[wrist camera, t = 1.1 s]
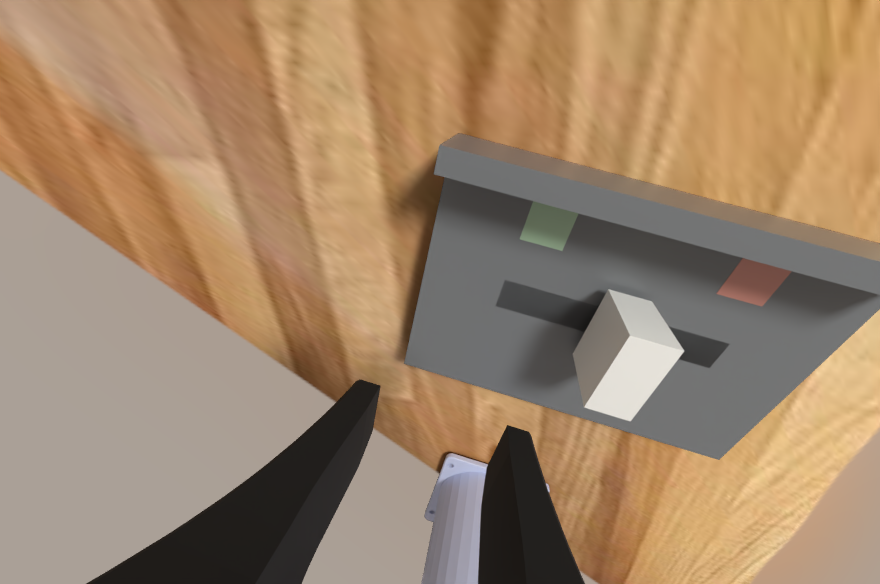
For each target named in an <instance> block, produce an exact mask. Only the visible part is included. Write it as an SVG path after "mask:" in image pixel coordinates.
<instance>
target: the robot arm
mask: <svg viewBox="0 0 880 584" xmlns="http://www.w3.org/2000/svg"><path fill="white" fill-rule="evenodd" d="M379 391H380V385H376V384H373V383H370V382H367V381H363V380H358V381H356V382H355V383H354V384H353V385H352V386H351V388H350V389H349V390H348V391H347V392H346V393H345V394H344V395H343V396H342V397H341V398H340V399H339V400H338V401H337V402H336V403H335V404H334V406H332V407H331V408H330V409H329V410H328V411H327V412H326V413H325V414H324V415H323V416H322V417H321V418H320V419H319V420H318V421H317V422H316V423H314V424H313V425H312V426H311V427H310V428H309V429H308V430H307V431H306V432H305V433H304V434H302V435H301V436H300V437H299V438H298V439H297V440H296V441H294V442H293V443H292V444H291V445H290V446H288V447H287V448H286V449H285V450H284V451H282V452H281V453H280V454H279V455H278V456H276V457H275V458H274V459H273V460H272V461H270V462H269V463H268V464H267V465H266V466H264V467H263V468H262V469H261V470H259V471H258V472H256V473H255V474H254V475H253V476H251V477H250V478H249V479H247V480H246V481H245V482H243V483H242V484H241V485H239V486H238V487H236V488H235V489H234V490H232V491H231V492H230V493H228V494H227V495H226V496H224V497H223V498H221V499H220V500H218V501H217V502H215V503H214V504H213V505H211V506H210V507H208V508H207V509H205V510H204V511H202V512H201V513H199V514H198V515H196V516H195V517H194V518H192V519H191V520H189V521H188V522H186V523H185V524H183V525H181V526H180V527H178V528H177V529H175V530H174V531H173V532H171V533H169V534H168V535H166V536H165V537H163V538H161V539H160V540H158V541H156V542H155V543H153V544H151V545H150V546H148V547H147V548H145V549H143V550H142V551H140V552H138V553H137V554H135V555H134V556H132V557H130V558H128V559H127V560H125V561H124V562H122V563H120V564H119V565H117V566H115V567H114V568H112V569H111V570H109V571H107V572H105V573H104V574H102V575H100V576H99V577H97V578H95V579H93V580H92V581H90V582H88V583H87V584H302V581H303V579H304V576H305V574H306V571H307V569H308V567H309V565H310V562H311V561H312V558H313V556H314V554H315V552H316V550H317V548H318V546H319V544H320V542H321V540H322V538H323V536H324V534H325V532H326V530H327V528H328V526H329V524H330V522H331V520H332V518H333V516H334V514H335V512H336V510H337V508H338V506H339V504H340V502H341V500H342V498H343V496H344V494H345V492H346V490H347V488H348V487H349V484H350V483H351V481H352V479H353V477H354V475H355V473H356V471H357V469H358V467H359V464H360V461H361V459H362V456H363V454H364V451H365V449H366V446H367V444H368V441H369V439H370V436H371V434H372V431H373V425H374V419H375V414H376V408H377V402H378V397H379ZM425 518H426V519H427V520H429V521H432V522H434V523H433V528H432V533H431V538H430V543H429V548H428V553H427V558H426V563H425V568H424V573H423V578H422V583H421V584H585V583H584V581H583V578H582V576H581V574H580V571H579V569H578V567H577V564H576V562H575V559H574V557H573V555H572V552H571V550H570V548H569V545H568V543H567V540H566V538H565V535H564V532H563V530H562V527H561V525H560V522H559V519H558V516H557V514H556V511H555V508H554V506H553V503H552V500H551V497H550V495H549V485H548V484H547V483H545V480H544V477H543V474H542V471H541V468H540V464H539V461H538V458H537V455H536V451H535V448H534V444H533V441H532V437H531V435H530V433H529V432H528V431H524V430H521V429H518V428H515V427H511V426H508V425H507V427H506V429H505V431H504V433H503V435H502V437H501V439H500V441H499V443H498V446H497V448H496V450H495V452H494V454H493V456H492V458H491V460H490V462H489V464H485V463H482V462H479V461H476V460H472V459H469V458H466V457H463V456H460V455H457V454H453V453H449V454H447V455H446V458H445V461H444V463H443V466H442V469H441V471H440V474H439V477H438V479H437V482H436V485H435V487H434V490H433V493H432V496H431V498H430V501H429V503H428V506H427V509H426V512H425Z"/></svg>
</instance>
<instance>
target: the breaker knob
mask: <svg viewBox="0 0 880 584" xmlns="http://www.w3.org/2000/svg"><path fill="white" fill-rule="evenodd" d="M683 352H684V350H683V348H682V347H681V345H680V344H679V342H678V341H677V339H676V337H675V336H674V334H673V333H672V331H671V330H670V328H669V327H668V325H667V324H666V322H665V321H664V319H663V318H662V316H661V314H660V313H659V311H658V310H657V308H656V307H655V305H654V304H653V302H652V301H649V300H645V299H642V298H638V297H635V296H631V295H628V294H624V293H620V292H617V291H613V290H610V289H608V291H607V292H606V294H605V296H604V298H603V300H602V302H601V303H600V305H599V307H598V309H597V311H596V312H595V314H594V316H593V318H592V320H591V322H590V323H589V325H588V327H587V329H586V331H585V332H584V334H583V336H582V338H581V340H580V342H579V343H578V345H577V347H576V349H575V351H574V353H573V358H574V363H575V367H576V372H577V377H578V381H579V386H580V391H581V396H582V400H583V405H584V408H588V409H591V410H594V411H598V412H601V413H604V414H607V415H611V416H614V417H617V418H621V419H624V420H627V421H631V420H632V419H633V417H634V416H635V415H636V414H637V412H638V411H639V410H640V408H641V407H642V406H643V404H644V403H645V402H646V401H647V399H648V398H649V397H650V395H651V394H652V393H653V391H654V390H655V389H656V388H657V386H658V385H659V384H660V382H661V381H662V380H663V378H664V377H665V376H666V375H667V373H668V372H669V371H670V369H671V368H672V367H673V365H674V364H675V363H676V361H677V360H678V359H679V358H680V356H681V355H682V354H683Z"/></svg>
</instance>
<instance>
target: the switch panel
mask: <svg viewBox="0 0 880 584" xmlns="http://www.w3.org/2000/svg"><path fill="white" fill-rule="evenodd" d="M434 174H435V175H438V176H442V177H445V178H444V183H443V187H442V192H441V196H440V201H439V206H438V210H437V215H436V219H435V224H434V229H433V233H432V238H431V242H430V247H429V252H428V256H427V261H426V265H425V270H424V275H423V279H422V284H421V288H420V293H419V298H418V302H417V307H416V311H415V316H414V321H413V325H412V330H411V334H410V339H409V344H408V348H407V353H406V357H405V362H404V364H407V365H410V366H414V367H417V368H420V369H423V370H427V371H430V372H433V373H436V374H440V375H443V376H446V377H449V378H453V379H456V380H459V381H463V382H466V383H469V384H472V385H476V386H479V387H482V388H485V389H489V390H492V391H495V392H499V393H502V394H505V395H508V396H512V397H515V398H518V399H521V400H525V401H528V402H531V403H535V404H538V405H541V406H544V407H548V408H551V409H554V410H557V411H561V412H564V413H567V414H571V415H574V416H577V417H580V418H584V419H587V420H590V421H593V422H597V423H600V424H603V425H607V426H610V427H613V428H616V429H620V430H623V431H626V432H629V433H633V434H636V435H639V436H643V437H646V438H649V439H652V440H656V441H659V442H662V443H665V444H669V445H672V446H675V447H679V448H682V449H685V450H688V451H692V452H695V453H698V454H701V455H705V456H708V457H711V458H715V459H718V460H719V459H720V458H721V457H723V456H724V455H725V454H726V453H727V452H728V451H729V450H730V449H731V448H732V447H733V446H734V445H735V444H736V443H737V442H739V441H740V440H741V439H742V438H743V437H744V436H745V435H746V434H747V433H748V432H749V431H750V430H751V429H752V428H753V427H754V426H756V425H757V424H758V423H759V422H760V421H761V420H762V419H763V418H764V417H765V416H766V415H767V414H768V413H769V412H770V411H772V410H773V409H774V408H775V407H776V406H777V405H778V404H779V403H780V402H781V401H782V400H783V399H784V398H785V397H786V396H788V395H789V394H790V393H791V392H792V391H793V390H794V389H795V388H796V387H797V386H798V385H799V384H800V383H801V382H802V381H804V380H805V379H806V378H807V377H808V376H809V375H810V374H811V373H812V372H813V371H814V370H815V369H816V368H817V367H818V366H820V365H821V364H822V363H823V362H824V361H825V360H826V359H827V358H828V357H829V356H830V355H831V354H832V353H833V352H834V351H836V350H837V349H838V348H839V347H840V346H841V345H842V344H843V343H844V342H845V341H846V340H847V339H848V338H849V337H850V336H851V335H853V334H854V333H855V332H856V331H857V330H858V329H859V328H860V327H861V326H862V325H863V324H864V323H865V322H866V321H867V320H869V319H870V318H871V317H872V316H873V315H874V314H875V313H876V312H877V311H878V310H879V309H880V243H876V242H872V241H869V240H865V239H861V238H857V237H853V236H849V235H846V234H842V233H838V232H834V231H830V230H827V229H823V228H819V227H815V226H811V225H808V224H804V223H800V222H796V221H792V220H788V219H785V218H781V217H777V216H773V215H769V214H766V213H762V212H758V211H754V210H750V209H747V208H743V207H739V206H735V205H731V204H727V203H724V202H720V201H716V200H712V199H708V198H705V197H701V196H697V195H693V194H689V193H686V192H682V191H678V190H674V189H670V188H667V187H663V186H659V185H655V184H651V183H647V182H644V181H640V180H636V179H632V178H628V177H625V176H621V175H617V174H613V173H609V172H606V171H602V170H598V169H594V168H590V167H586V166H583V165H579V164H575V163H571V162H567V161H564V160H560V159H556V158H552V157H548V156H545V155H541V154H537V153H533V152H529V151H526V150H522V149H518V148H514V147H510V146H506V145H503V144H499V143H495V142H491V141H487V140H484V139H480V138H476V137H472V136H468V135H465V134H461V133H458V134H456V135H455V136H453V137H452V138H450V139H448V140H447V141H445V142H443V143H442V144H440V146H439V151H438V156H437V161H436V166H435V171H434ZM608 289H610V290H613V291H617V292H620V293H624V294H628V295H631V296H635V297H638V298H642V299H645V300H649V301H652V302H653V304H654V305H655V307H656V308H657V310H658V311H659V313H660V314H661V316H662V318H663V319H664V321H665V322H666V324H667V325H668V327H669V328H670V330H671V331H672V333H673V334H674V336H675V337H676V339H677V341H678V342H679V344H680V345H681V347H682V348H683V350H684V352H683V354H682V355H681V356H680V358H679V359H678V360H677V361H676V363H675V364H674V365H673V367H672V368H671V369H670V371H669V372H668V373H667V375H666V376H665V377H664V378H663V380H662V381H661V382H660V384H659V385H658V386H657V388H656V389H655V390H654V391H653V393H652V394H651V395H650V397H649V398H648V399H647V401H646V402H645V403H644V404H643V406H642V407H641V408H640V410H639V411H638V412H637V414H636V415H635V416H634V417H633V419H632V420H631V421H627V420H624V419H621V418H617V417H614V416H611V415H607V414H604V413H601V412H598V411H594V410H591V409H588V408H584V405H583V400H582V396H581V391H580V386H579V381H578V377H577V372H576V367H575V363H574V358H573V353H574V351H575V349H576V347H577V345H578V343H579V342H580V340H581V338H582V336H583V334H584V332H585V331H586V329H587V327H588V325H589V323H590V322H591V320H592V318H593V316H594V314H595V312H596V311H597V309H598V307H599V305H600V303H601V302H602V300H603V298H604V296H605V294H606V292H607V291H608Z"/></svg>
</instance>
